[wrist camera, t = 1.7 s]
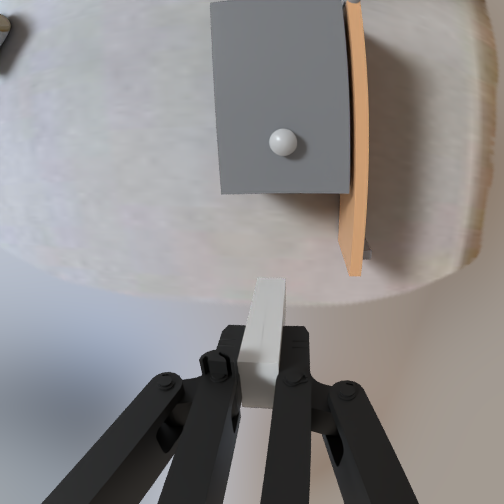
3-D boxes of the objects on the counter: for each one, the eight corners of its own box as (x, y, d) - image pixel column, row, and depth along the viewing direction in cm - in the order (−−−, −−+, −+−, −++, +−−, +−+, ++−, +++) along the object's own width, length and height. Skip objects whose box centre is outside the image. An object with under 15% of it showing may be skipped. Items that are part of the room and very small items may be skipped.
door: (332, 19, 24) (344, -10, 16) (353, 20, 23) (371, -7, 16) (337, 240, 33) (348, 276, 26) (356, 241, 33) (371, 276, 25)
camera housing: (229, 11, 25) (206, -21, 17) (328, 8, 23) (339, -27, 15) (238, 176, 32) (219, 196, 24) (336, 175, 31) (351, 196, 23)
